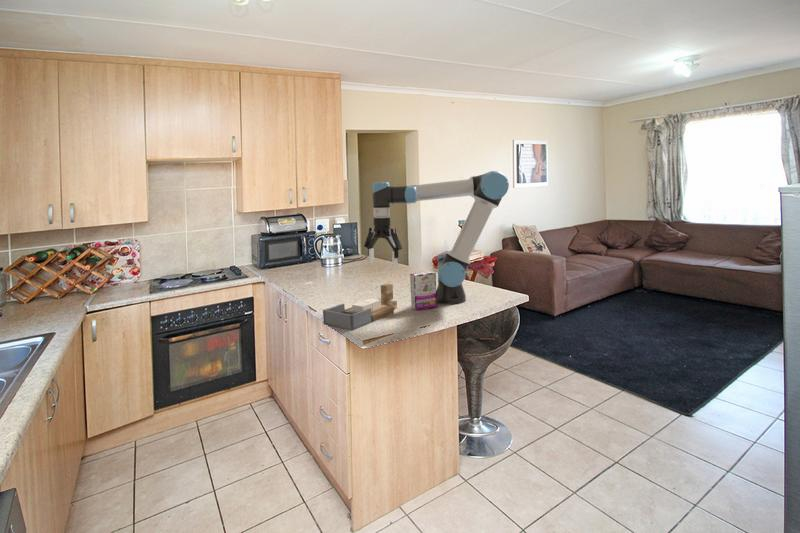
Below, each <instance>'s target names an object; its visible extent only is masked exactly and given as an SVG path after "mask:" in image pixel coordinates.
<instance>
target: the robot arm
mask: <svg viewBox="0 0 800 533" xmlns="http://www.w3.org/2000/svg"><path fill="white" fill-rule="evenodd" d="M509 186H510V183H509V179H508V178H507V176H506V175H505V174H504V173H502V172H500V171H497V170H491V171H488V172H485V173H483V174H480V175H479V174H478V175H474V176H470V177H469V179H459V180H452V181H443V182H442V181H441V182H440V181H439V182H432V183H423V184H415V185H398V186H396V185H395V186H393V185H392V186H391V185H390V182H388V181H378V182H377V181H376V182H373V184H372V208H373V209H372V214H373V215H372V216H373V217H374V218H373V226H374V227H369V228H368V234H367V235H366V239H365V242H364V245H363V247H364V248H367V256H368V260H369V261H368V263H369V264H374V263H375V248H374V246H375V245H376V243H377V241H378V240H379V239H384V240H386V241H387V243H388V244H389V246H390V247H391V249H392V251H391V256H392V257H391V258H392V259H391V260H392V262H391V264H392V266H393V267H394V266H397V265H398V259H399V251H400V250H403V246H402V243H401V241H400V239H399V237H398V234H397V228H393V227H392V228H390V227H391V204H393V205H394V204H408V205H409V204H416V203H417V202H421V201H430V200H431V201H432V200H441V199H449V198H450V199H451V198H459V197H469V196H470V197H471V198H473V199H474V201H473V204H472V206H471V208H470V210H469V211H468V212H469V213H468V215H467V217H466V219H465V220H464V223H463V225H462V227H461V229H460V231H459V234H458V235H457V238H456V240H455V243H454V244H453V246H452V249H450V250H447V251H446V253H440V254H438V255H437V258H436V261H437V286H436V299H437V303H439V304H445V305H446V304H447V305H448V304H451V305H453V304H461V303H464V302H465V301H467V299H466V298H467V296H466V292H465V289H464V286H463V282H464V281H465V280H466V274H467V271H468V269H469V267H470V265H471V261H470V257H471V255H472V253H473V251H474V249H475V246H476V244H477V243H478V240H479V238H480V236H481V234H482V232H483V230H484V228H485V226H486V224H487V222H488V220H489V217H490V216H491V214H492V212H493V210H494V209H495V208H498V207H499V206H500V203H501V201H502V199H503V197H504V196H506V194H507V193H508V190H509V188H510V187H509Z"/></svg>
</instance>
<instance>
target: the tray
mask: <svg viewBox="0 0 800 533" xmlns="http://www.w3.org/2000/svg"><path fill="white" fill-rule="evenodd" d="M345 307H346V306H345V303H340V304H337V305H335V306H332V307H327V308H326V309H322V316H323V317H322V318H323V325H327V326H331V327H335V328H340V329H345V330H349V331H355V330H357V329H360V328H362V327H364V326H366V325H369V324H370V323H373V322H372V313H371V308H368V309H366V310H363V311H360V312H358V313H355V312H350V311H345V309H346V308H345Z"/></svg>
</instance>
